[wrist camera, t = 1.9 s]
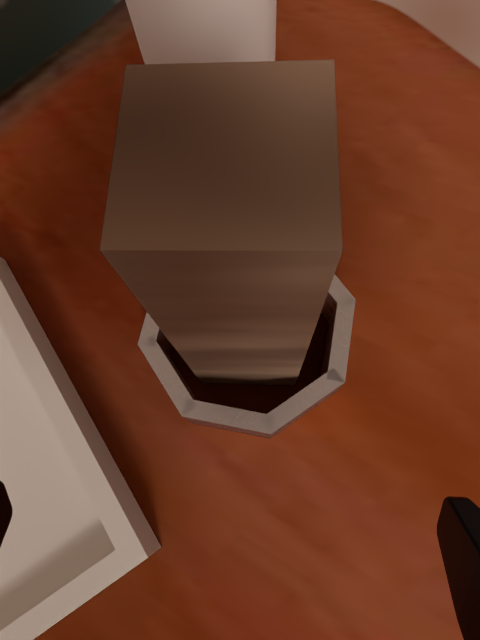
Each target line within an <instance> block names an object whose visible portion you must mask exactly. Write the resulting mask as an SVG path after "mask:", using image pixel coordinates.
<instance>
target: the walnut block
mask: <svg viewBox="0 0 480 640" xmlns="http://www.w3.org/2000/svg"><path fill="white" fill-rule="evenodd" d="M100 251H101V253H102V254H103V255H104V257H105V258H106V259H107V261H108V262H109V263H110V265H111V266H112V267H113V268H114V270H115V271H116V272H117V274H118V275H119V276H120V278H121V279H122V280H123V281H124V283H125V284H126V285H127V287H128V288H129V289H130V291H131V292H132V293H133V294H134V296H135V297H136V298H137V300H138V301H139V302H140V304H141V305H142V306H143V308H144V309H145V310H146V311H147V313H148V314H149V315H150V317H151V318H152V319H153V321H154V322H155V323H156V324H157V326H158V327H159V328H160V330H161V331H162V332H163V334H164V335H165V336H166V337H167V339H168V340H169V341H170V343H171V344H172V345H173V347H174V348H175V349H176V351H177V352H178V353H179V354H180V356H181V357H182V358H183V360H184V361H185V362H186V364H187V365H188V366H189V367H190V369H191V370H192V371H193V373H194V374H195V375H196V377H197V378H198V379H199V380H200V382H201V383H205V384H254V385H295V384H296V381H297V378H298V375H299V373H300V370H301V367H302V364H303V361H304V359H305V356H306V353H307V350H308V347H309V344H310V342H311V339H312V336H313V333H314V330H315V328H316V325H317V322H318V319H319V316H320V313H321V311H322V308H323V305H324V302H325V299H326V296H327V294H328V291H329V288H330V285H331V282H332V280H333V277H334V274H335V271H336V268H337V265H338V263H339V260H340V257H341V254H342V251H343V247H342V225H341V203H340V181H339V159H338V137H337V115H336V93H335V71H334V60H302V61H261V62H219V63H177V64H136V65H126V68H125V75H124V82H123V89H122V96H121V103H120V110H119V117H118V124H117V131H116V138H115V145H114V152H113V159H112V167H111V174H110V181H109V188H108V195H107V202H106V209H105V216H104V223H103V230H102V237H101V244H100Z"/></svg>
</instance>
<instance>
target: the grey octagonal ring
mask: <svg viewBox="0 0 480 640" xmlns="http://www.w3.org/2000/svg"><path fill="white" fill-rule="evenodd" d="M355 300H356V299H355V298H354V297H353V296H352V294H351V293H350V292H349V291H348V290H347V288H346V287H345V286H344V285H343V284H342V282H341V281H340V280H339V279H338V277H337V276H336V275H335V274H334V277H333V280H332V282H331V285H330V288H329V291H328V294H327V296H326V299H325V302H324V305H323V308H322V311H321V313H322V315H323V316H324V317H325V318H326V320H327V321H328V322H329V326H328V333H327V340H326V346H325V353H324V360H323V367H322V374H321V377H320V378H318V379H317V380H315V381H314V382H312V383H311V384H309V385H308V386H307V387H305V388H304V389H302V390H301V391H299V392H298V393H296V394H295V395H294V396H292V397H291V398H289V399H288V400H286V401H285V402H283V403H282V404H281V405H279V406H278V407H276V408H275V409H273V410H272V411H271V412H269V413H268V414H264V413H258V412H253V411H248V410H243V409H238V408H233V407H228V406H222V405H217V404H212V403H207V402H202V401H197V399H196V397H195V396H194V394H193V393H192V391H191V390H190V388H189V386H188V385H187V383H186V382H185V380H184V379H183V377H182V375H181V374H180V372H179V371H178V369H177V367H176V366H175V364H174V363H173V361H172V360H171V358H170V356H169V354H170V351H171V347H172V344H171V343H170V341H169V340H168V339H167V337H166V336H165V335H164V334H163V332H162V331H161V330H160V328H159V327H158V326H157V324H156V323H155V322H154V321H153V319H152V318H151V317H150V315H149V314H148V313H146V316H145V320H144V323H143V327H142V331H141V334H140V338H139V342H138V346H139V347H140V349H141V351H142V352H143V354H144V356H145V357H146V359H147V360H148V362H149V364H150V365H151V367H152V369H153V370H154V372H155V373H156V375H157V377H158V378H159V380H160V382H161V383H162V385H163V386H164V388H165V390H166V391H167V393H168V395H169V396H170V398H171V400H172V401H173V403H174V404H175V406H176V408H177V409H178V411H179V413H180V414H181V416H182V417H183V418H185V419H187V420H188V421H190V422H192V423H196V424H201V425H206V426H211V427H216V428H221V429H226V430H231V431H236V432H241V433H246V434H251V435H256V436H261V437H266V438H272V437H273V436H275V435H276V434H277V433H279V432H280V431H282V430H283V429H284V428H286V427H287V426H289V425H290V424H292V423H293V422H294V421H296V420H297V419H299V418H300V417H302V416H303V415H304V414H306V413H307V412H309V411H310V410H312V409H313V408H314V407H316V406H317V405H319V404H320V403H322V402H323V401H324V400H326V399H327V398H329V397H330V396H331V395H333V394H334V393H336V392H337V391H338V389H339V388H340V387H341V386H342V385H343V384H344V383H345V378H346V370H347V362H348V354H349V347H350V339H351V331H352V323H353V315H354V308H355Z"/></svg>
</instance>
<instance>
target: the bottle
mask: <svg viewBox="0 0 480 640" xmlns="http://www.w3.org/2000/svg"><path fill="white" fill-rule="evenodd" d="M125 1H126V4H127V8H128V11H129V14H130V18H131V21H132V24H133V28H134V31H135V34H136V38H137V41H138V44H139V48H140V51H141V54H142V57H143V61H144V64H177V63H219V62H261V61H275V44H276V0H125Z"/></svg>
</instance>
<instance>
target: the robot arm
mask: <svg viewBox="0 0 480 640" xmlns="http://www.w3.org/2000/svg"><path fill="white" fill-rule="evenodd" d="M12 512H13V511H12V505H11V502H10V499H9V496H8V493H7V491H6V488H5V485H4V483H3V482H2V481H0V547H1V544H2V542H3V539H4V537H5V534H6V532H7V529H8V526H9V524H10V521H11V518H12ZM437 536H438V541H439V545H440V549H441V554H442V558H443V562H444V566H445V571H446V575H447V579H448V583H449V588H450V592H451V596H452V600H453V604H454V608H455V612H456V616H457V620H458V623H459V626H460V629H461V633H462V636H463V638H464V640H480V508H479V507H478V506H477V505H476V504H474V503H473V502H472V501H471V500H470V499H468V498H466V497H446V498H445V499H444V501H443V504H442V508H441V512H440V515H439V519H438V523H437Z"/></svg>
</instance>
